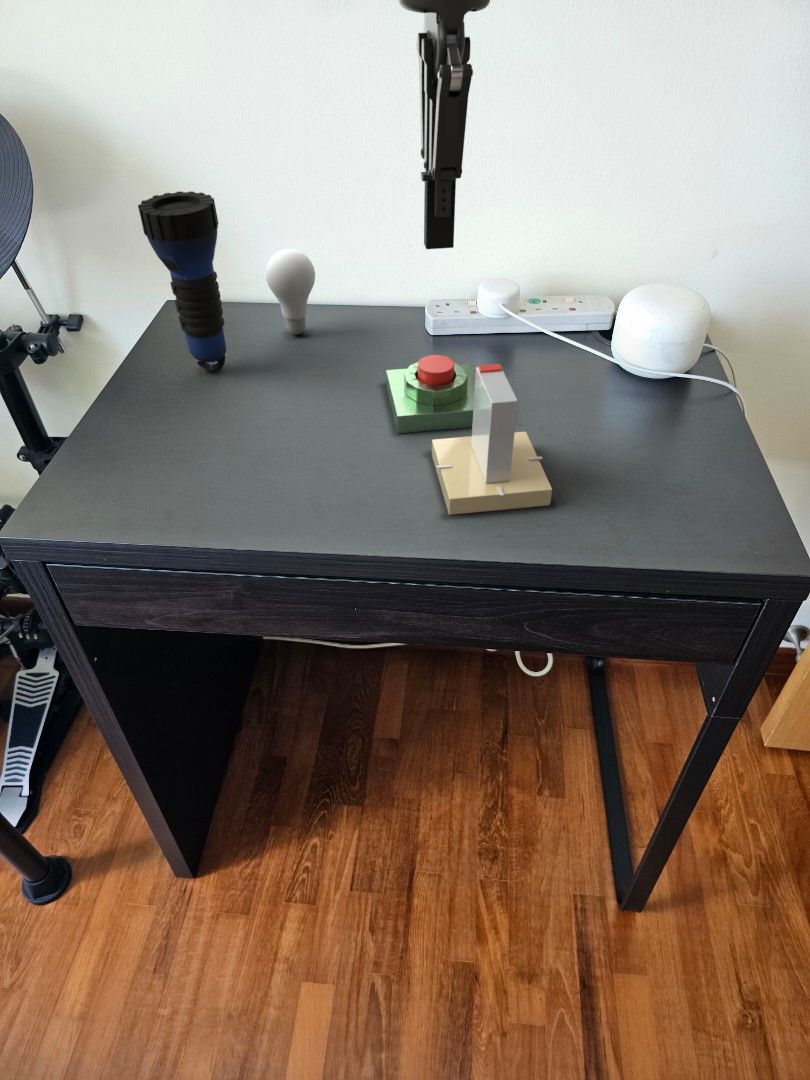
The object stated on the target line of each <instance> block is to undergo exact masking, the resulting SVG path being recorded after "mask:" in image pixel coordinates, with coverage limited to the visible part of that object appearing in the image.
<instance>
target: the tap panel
mask: <svg viewBox="0 0 810 1080" xmlns="http://www.w3.org/2000/svg"><path fill="white" fill-rule="evenodd" d="M471 441H472V435H471V436H469V435H468V436H461V437H460V436H456V437H446V438H435V439H434V438H433V439H431V457H432V460H433V461H432V462H433V464H434V468H435V472H436V475H437V478H438V481H439V485H440V489H441V492H442V495H443V499H444V503H445V506H446V510H447V513H448V515H449V516H452V515H462V514H472V513H473V514H474V513H483V512H484V513H485V512H493V511H494V512H495V511H504V510H516V509H526V508H535V507H546V506H551V501H552V495H553V488H552V486H551V483H550V481H549V479H548V477H547V475H546V472H545V470H544V468H543V466H542V463H541V462H540V460H542V461H543V459H544V458H543V456H542V455H540V456H538V455H537V453H536V450H535V449H534V446H533V444H532V442H531V439H530V438H529V435H528V433H527V431H515V433H514V443H513V453H512V463H511V472H510V481H504V482H494V483H485V480H484V477H483V475H482V472H481V470H480V467H479V464H478V462H477V459H476V456H475V454H474V451H473V448H472V446H471Z"/></svg>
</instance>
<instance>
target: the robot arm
mask: <svg viewBox="0 0 810 1080" xmlns="http://www.w3.org/2000/svg"><path fill="white" fill-rule="evenodd" d="M490 3H491V0H398V4H399V5H400V7H401V8H403V9H404V10H405V11H408V12H413V13H420V14H424V16H423V18H424V19H423V32H417V36H416V46H415V47H416V52H417V59H418V75H419V76H418V77H419V115H420V152H419V153H420V154H419V155H420V157H421V159H422V160H424V162H423V165H422V166H423V169H424V171H421V172H420V179H421V182H424V200H423V201H424V203H423V204H424V205H423V206H424V207H423V209H424V211H423V212H424V213H423V216H424V217H423V245H424V247H425V250H437V249H439V250H440V249H454V245H455V243H454V242H455V220H456V219H455V217H456V191H457V189H456V186H457V179H461V178H462V174H463V159H464V150H465V149H464V148H465V147H464V146H465V139H466V138H465V136H466V125H467V115H468V105H469V104H468V103H469V94H470V89H471V83H472V78H473V75H474V69H473V65H472V63H468V62H469V61H470V59H471V38H470V36H466V32H465V31H466V30H465V21H464V20H465V15H466V14H467V13H469V12H479V11H480V12H481V11H482V10H484V9H486V8H487V7H488V6H489V5H490Z"/></svg>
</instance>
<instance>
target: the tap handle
mask: <svg viewBox="0 0 810 1080" xmlns="http://www.w3.org/2000/svg"><path fill="white" fill-rule="evenodd" d="M474 375H475V391H474V408H473V424H472V427H471V436H472V441H471V446H472V448H473V451H474V454H475V456H476V459H477V462H478V464H479V467H480V470H481V472H482V475H483V477H484V480H485V483H494V482H504V481H510V472H511V463H512V453H513V443H514V433H515V432H516V422H517V413H518V403H519V401H518V398H517V396H516V394H515V393H514V392H515V391H514V390H513V387H512V386H511V384H510V382H509V380H508V378H507V376H506V374H505V372H504V370H503V368H502V366H501V364H500V363H495V364H494V363H493V364H483V365H482V364H480V365H479V364H478V365H477V366H476V367H475V373H474Z"/></svg>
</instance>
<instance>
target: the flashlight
mask: <svg viewBox="0 0 810 1080" xmlns="http://www.w3.org/2000/svg"><path fill="white" fill-rule="evenodd" d="M137 208H138V212H139V216H140V220H141V221H140V222H141V225H142V231H143V234H144V235H145V236H146V238H147V240H148V243H149V245H150V246H151V248H152V250H153V251H154V253H155V255H156V256H157V258H158V259H159V260H160V261H161V263H162V264H163V265H164V266H165V267H166V268H167V270H168V271H169V273H170V274H169V275H170V278H171V281H170V282H169V283H170V286H171V291H172V292H171V293H172V294H173V295H174V296H175V299H174V304H175V309H176V312H177V313H178V314H179V316H178V321H179V326H180V328H181V330H182V331H183V332H184V336H185V340H186V343H187V347H188V351H189V353H190V355H191V356H192V357H193V358H194V359H195V360H197V362H196V364H197V365H198V366H199V367H200V368H201V369H203V370H205V371H208V372H218V371H220V370H222V369H223V367H224V366H225V363H226V353H227V345H226V344H227V343H226V338H225V333H224V331H225V330H224V326H225V318H224V317H223V315H224V311H223V303H222V300H221V292H220V290H219V289H220V285H219V282H218V280H217V279H218V273H217V272H216V271H215V269H214V258H215V252H216V247H217V242H218V241H217V240H218V228H219V219H218V214H217V208H216V202H215V197H213V196H212V195H211V194H205V193H204V192H195V191H190V190H189V191H186V192H185V191H176V192H171V193H170V192H165V193H163V194H161V195H158V194H155V195H152V197H150V198H148V199H146V200H144V199H143V200H142V201H140V204H138V205H137ZM210 363H214V364H210Z"/></svg>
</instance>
